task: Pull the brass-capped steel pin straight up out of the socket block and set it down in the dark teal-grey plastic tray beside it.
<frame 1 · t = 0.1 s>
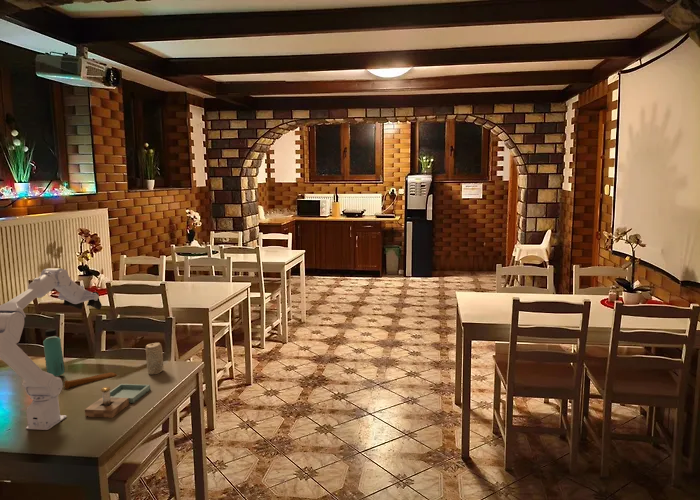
hand: (90, 307, 201), 32 cm above the table, tool tilted 50°, fingers open, 7 cm apart
pin: (106, 399, 185), in the socket block
beverage bottle: (56, 377, 218), on the table
tray: (126, 395, 198), on the table
primitive tool: (91, 382, 214), on the table
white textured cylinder: (155, 372, 220), on the table
socket block: (107, 410, 186), on the table
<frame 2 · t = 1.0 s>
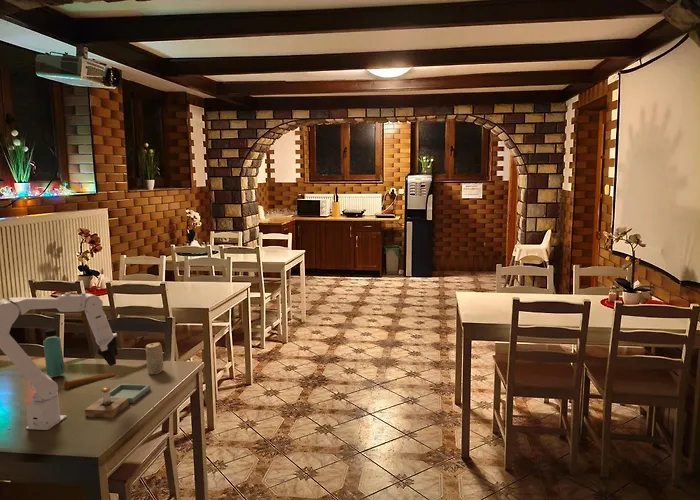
hand: (113, 360, 191), 15 cm above the table, tool pointing down, fingers open, 7 cm apart
nothing on the table moved.
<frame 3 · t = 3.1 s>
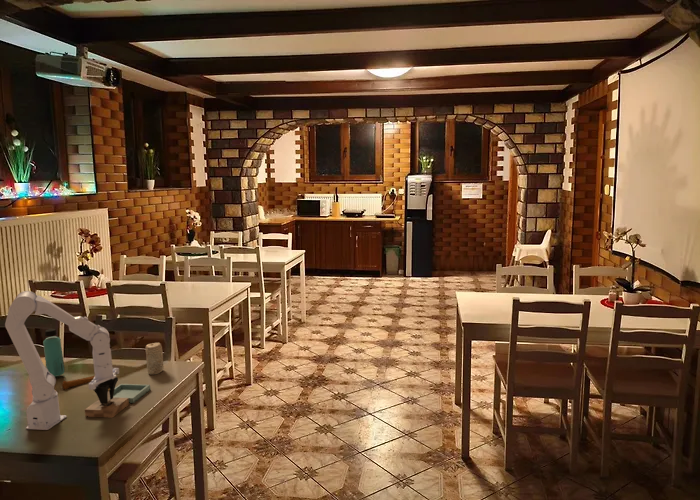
hand: (106, 401, 185), 3 cm above the table, tool pointing down, fingers closed on pin, 3 cm apart
pin: (106, 399, 185), in the socket block, touching gripper
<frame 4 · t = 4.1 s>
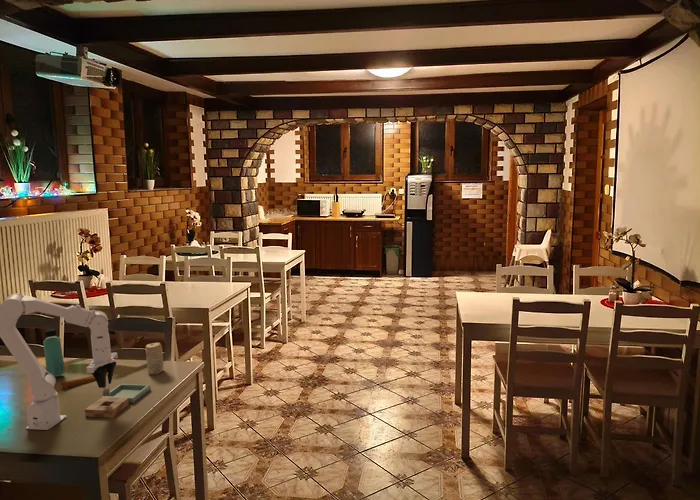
hand: (105, 385, 184), 9 cm above the table, tool pointing down, fingers closed on pin, 3 cm apart
pin: (104, 383, 184), point 10 cm above the table, touching gripper
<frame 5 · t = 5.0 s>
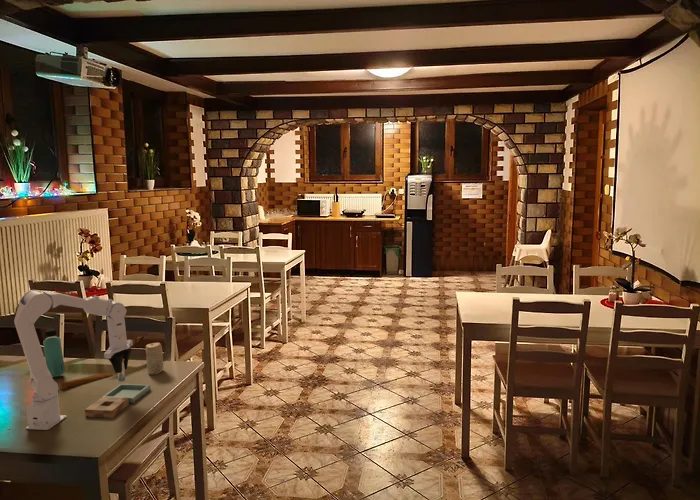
hand: (121, 370, 194), 11 cm above the table, tool pointing down, fingers closed on pin, 3 cm apart
pin: (120, 369, 194), point 11 cm above the table, touching gripper
when the fingers open (5 cm above the table, at t = 6.4 s): pin drops 1 cm, resting on tray.
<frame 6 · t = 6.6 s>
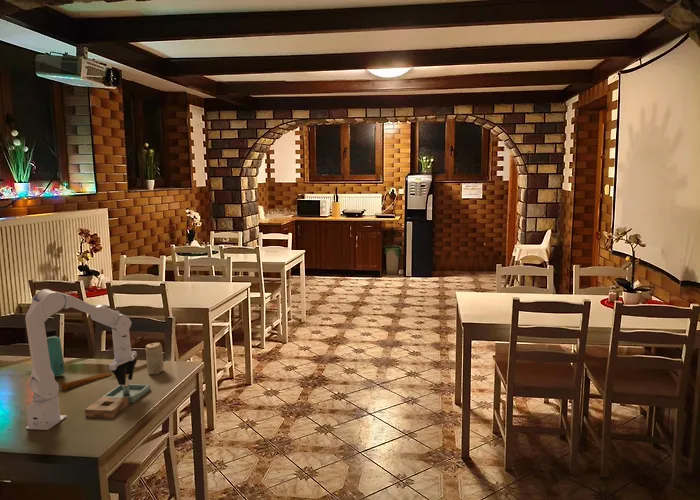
hand: (125, 381, 197), 5 cm above the table, tool pointing down, fingers open, 4 cm apart
pin: (125, 384, 197), in the tray
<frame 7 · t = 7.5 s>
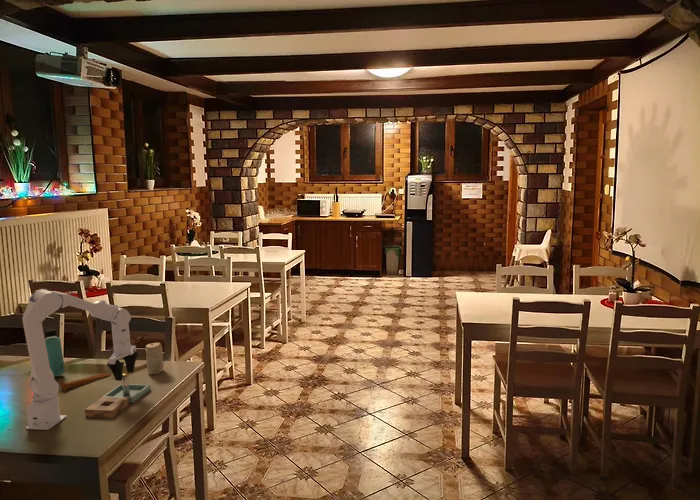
hand: (124, 376, 196), 8 cm above the table, tool pointing down, fingers open, 7 cm apart
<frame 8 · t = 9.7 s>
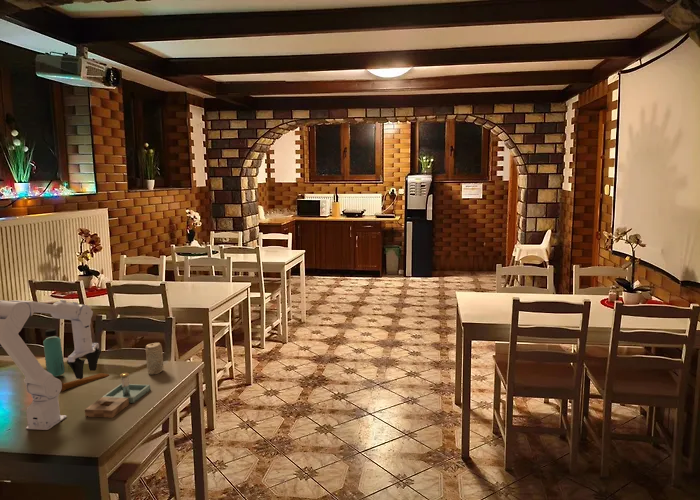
hand: (86, 374, 192), 10 cm above the table, tool pointing down, fingers open, 7 cm apart
at the end: pin inside the target area on the tray (0.3 cm from its centre), point 4.5 cm above the tray's base; the gripper is holding nothing; pin moved 11.7 cm from its start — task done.
